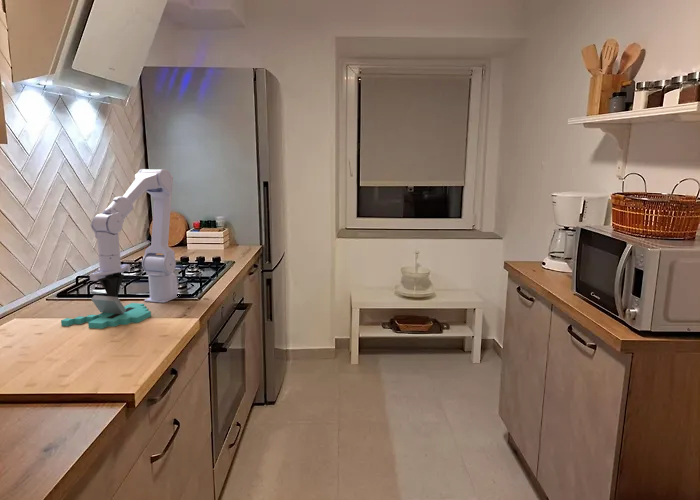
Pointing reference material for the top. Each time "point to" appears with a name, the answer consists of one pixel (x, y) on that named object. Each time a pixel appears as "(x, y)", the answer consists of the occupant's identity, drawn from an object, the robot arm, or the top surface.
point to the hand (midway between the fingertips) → (113, 298)
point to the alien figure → (112, 317)
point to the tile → (108, 304)
